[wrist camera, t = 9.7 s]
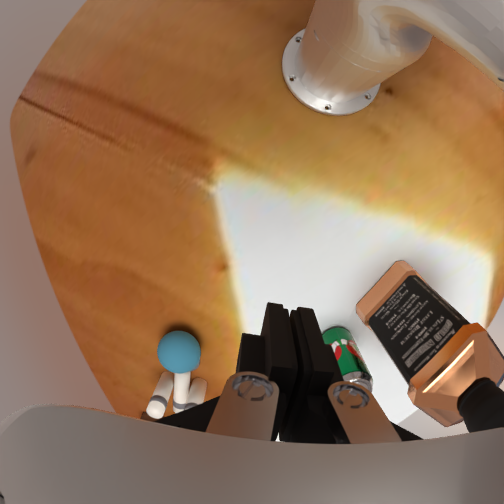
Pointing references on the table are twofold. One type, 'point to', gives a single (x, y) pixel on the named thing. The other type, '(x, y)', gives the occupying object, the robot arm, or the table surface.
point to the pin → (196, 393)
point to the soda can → (348, 357)
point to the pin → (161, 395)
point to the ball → (179, 352)
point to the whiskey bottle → (436, 351)
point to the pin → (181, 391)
